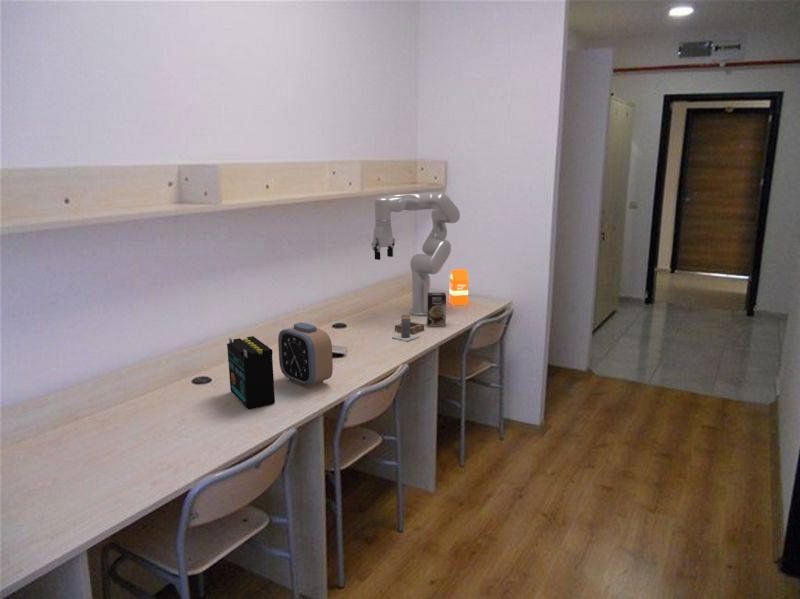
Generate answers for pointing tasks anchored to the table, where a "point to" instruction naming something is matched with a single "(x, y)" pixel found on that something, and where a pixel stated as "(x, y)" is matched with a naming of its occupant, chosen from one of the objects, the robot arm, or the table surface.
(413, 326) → the socket block
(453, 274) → the orange juice
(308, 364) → the alarm clock
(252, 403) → the battery
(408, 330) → the plug
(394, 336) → the mat
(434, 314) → the coffee box
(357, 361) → the table surface
